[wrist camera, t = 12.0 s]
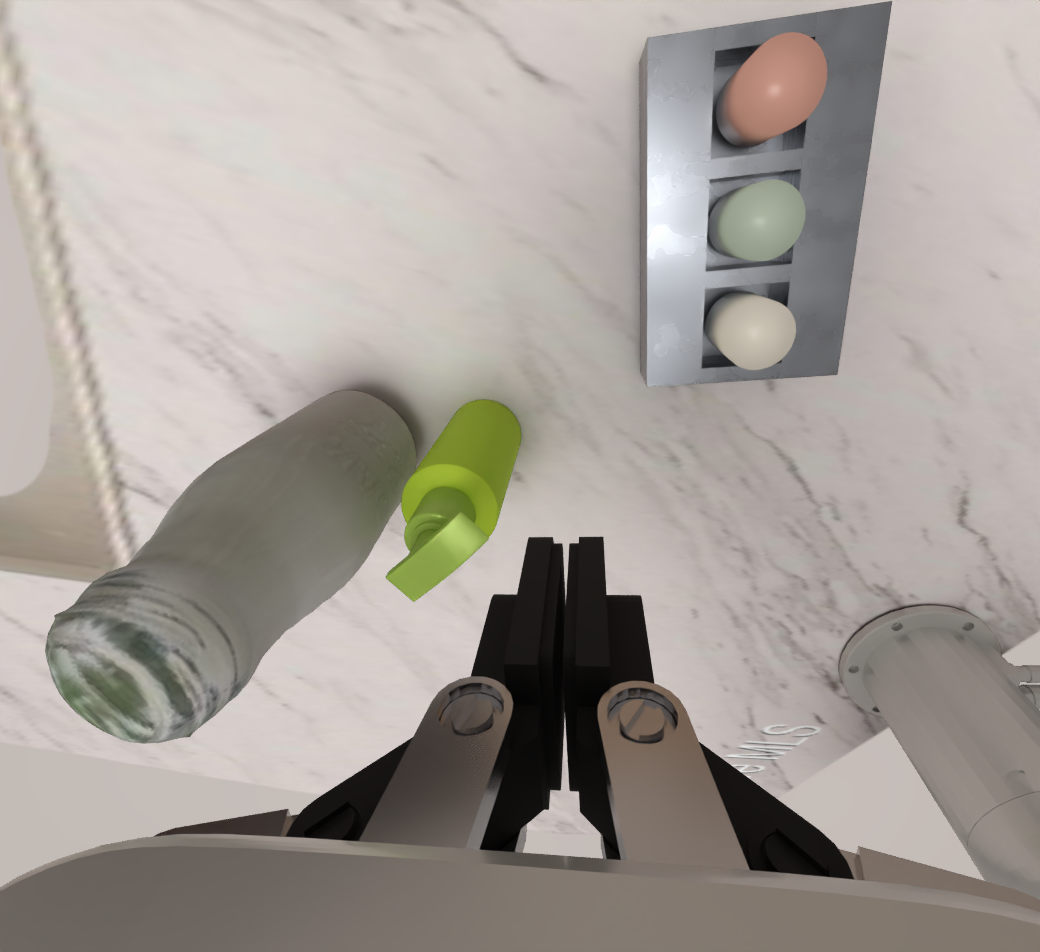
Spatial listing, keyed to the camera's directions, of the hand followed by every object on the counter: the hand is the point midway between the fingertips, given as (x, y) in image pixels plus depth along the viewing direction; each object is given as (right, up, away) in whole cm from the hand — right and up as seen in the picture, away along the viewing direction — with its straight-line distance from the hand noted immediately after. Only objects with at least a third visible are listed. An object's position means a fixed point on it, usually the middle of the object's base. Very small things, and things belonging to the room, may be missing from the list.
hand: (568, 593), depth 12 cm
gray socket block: (+13, +19, +23) cm, 33 cm away
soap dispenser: (-4, +6, +32) cm, 32 cm away
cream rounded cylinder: (+13, +13, +23) cm, 30 cm away
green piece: (+13, +18, +21) cm, 31 cm away
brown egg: (+12, +24, +18) cm, 32 cm away
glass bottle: (-13, +6, +33) cm, 36 cm away
